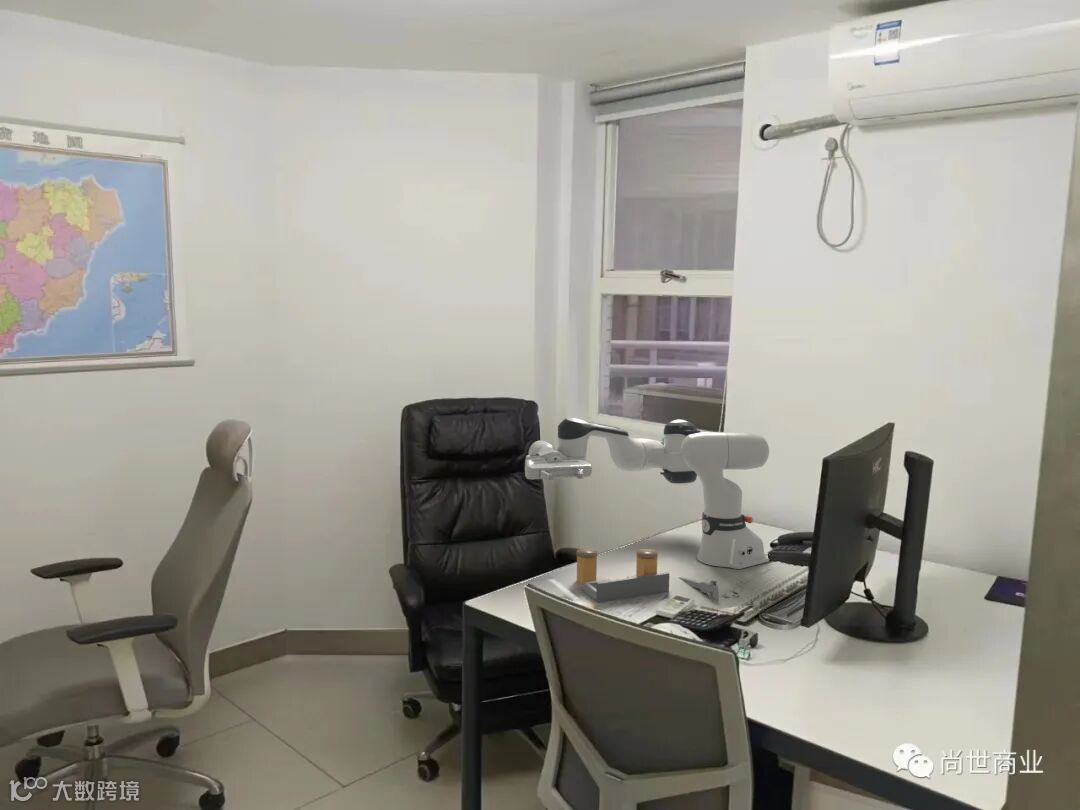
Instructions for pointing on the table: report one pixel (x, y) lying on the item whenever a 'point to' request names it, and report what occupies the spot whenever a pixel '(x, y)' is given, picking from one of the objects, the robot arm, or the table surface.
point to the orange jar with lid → (646, 562)
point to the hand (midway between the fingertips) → (565, 477)
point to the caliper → (705, 587)
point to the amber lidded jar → (586, 565)
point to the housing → (627, 587)
